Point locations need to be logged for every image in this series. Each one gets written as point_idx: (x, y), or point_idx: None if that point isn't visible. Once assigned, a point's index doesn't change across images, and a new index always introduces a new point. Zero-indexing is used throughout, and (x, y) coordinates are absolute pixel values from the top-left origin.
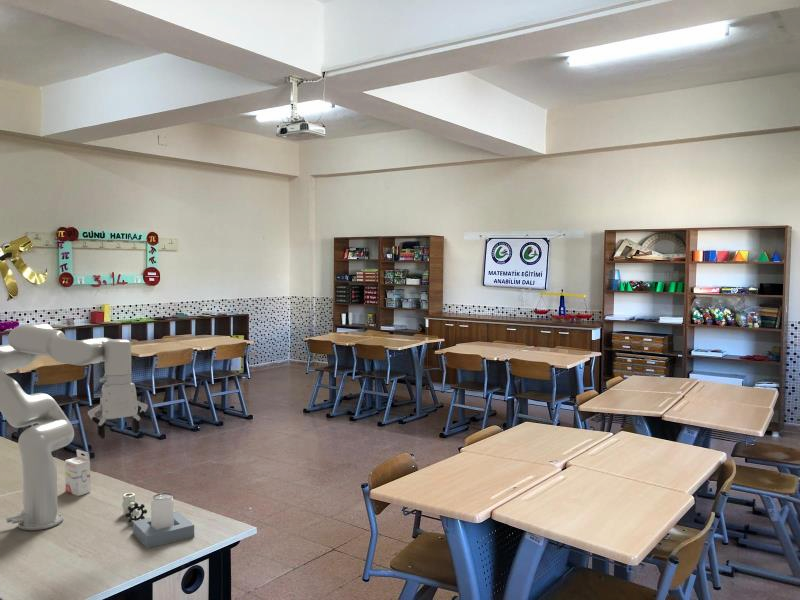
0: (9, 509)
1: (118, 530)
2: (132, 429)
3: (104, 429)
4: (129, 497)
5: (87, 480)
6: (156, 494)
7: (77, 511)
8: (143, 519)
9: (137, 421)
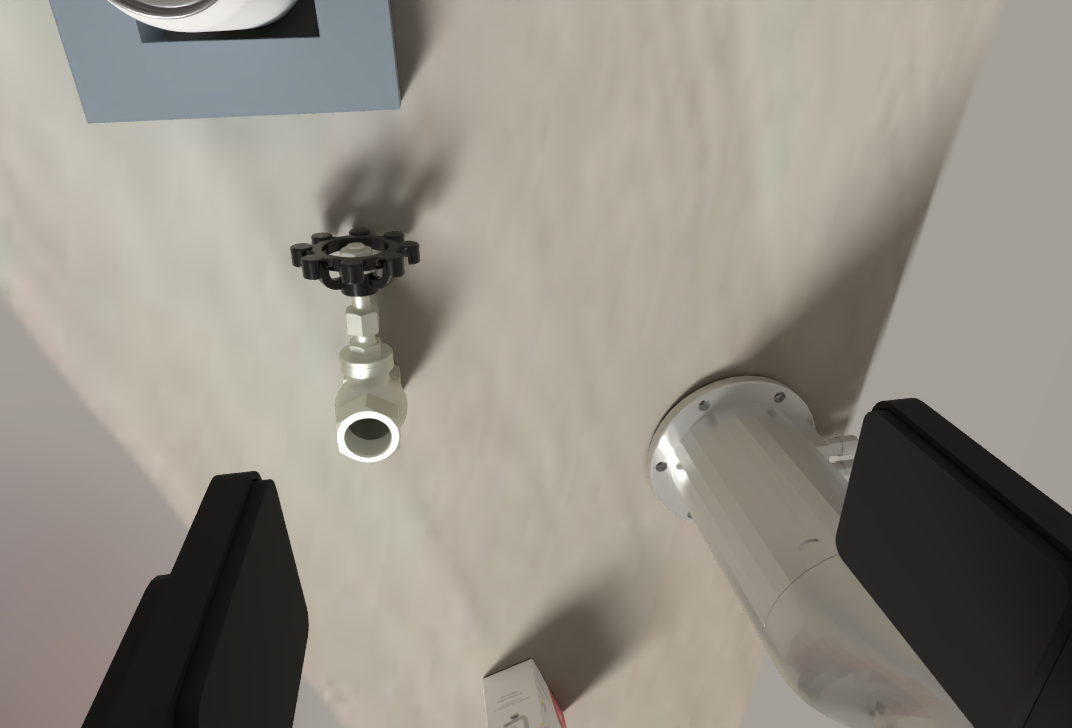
0: None
1: (465, 182)
2: (302, 654)
3: (998, 512)
4: (370, 405)
5: (500, 723)
6: (200, 5)
7: (574, 509)
8: (333, 103)
9: (109, 719)
